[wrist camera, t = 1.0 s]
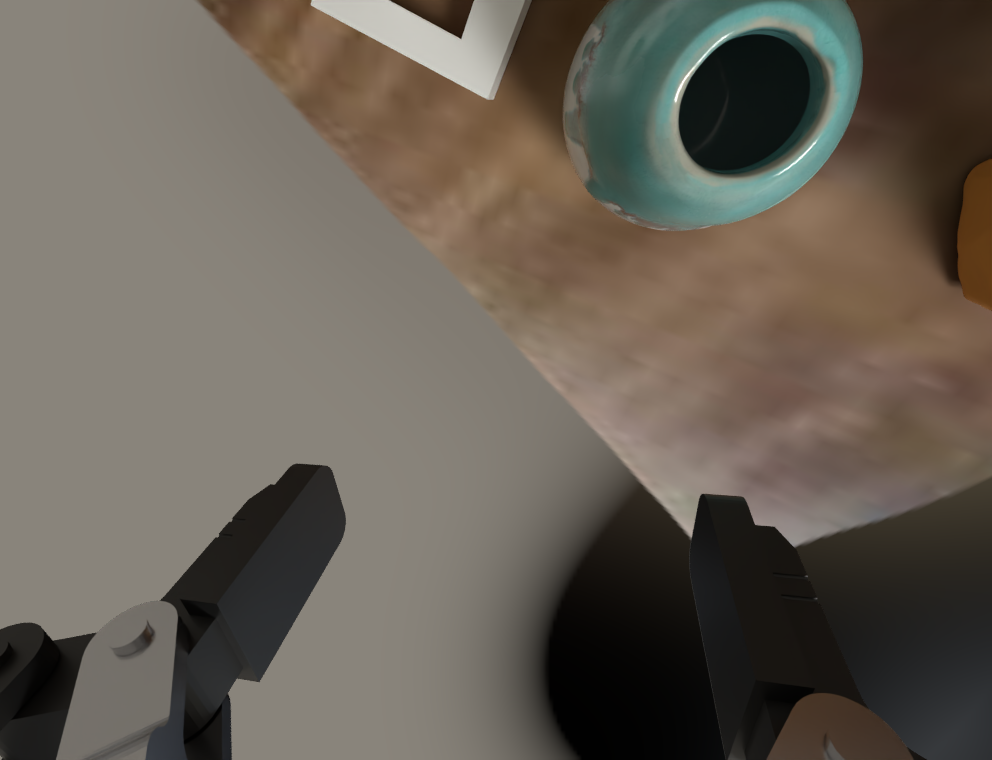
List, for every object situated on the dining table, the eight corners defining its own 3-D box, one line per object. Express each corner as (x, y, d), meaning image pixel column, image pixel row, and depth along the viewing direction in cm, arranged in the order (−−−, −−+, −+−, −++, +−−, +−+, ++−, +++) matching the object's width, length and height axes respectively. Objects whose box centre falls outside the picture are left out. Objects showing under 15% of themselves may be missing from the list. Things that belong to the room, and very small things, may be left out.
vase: (662, 246, 32) (726, 377, 17) (528, 125, 30) (459, 148, 15) (825, 82, 26) (1146, 54, 11) (674, -81, 24) (810, -395, 9)
